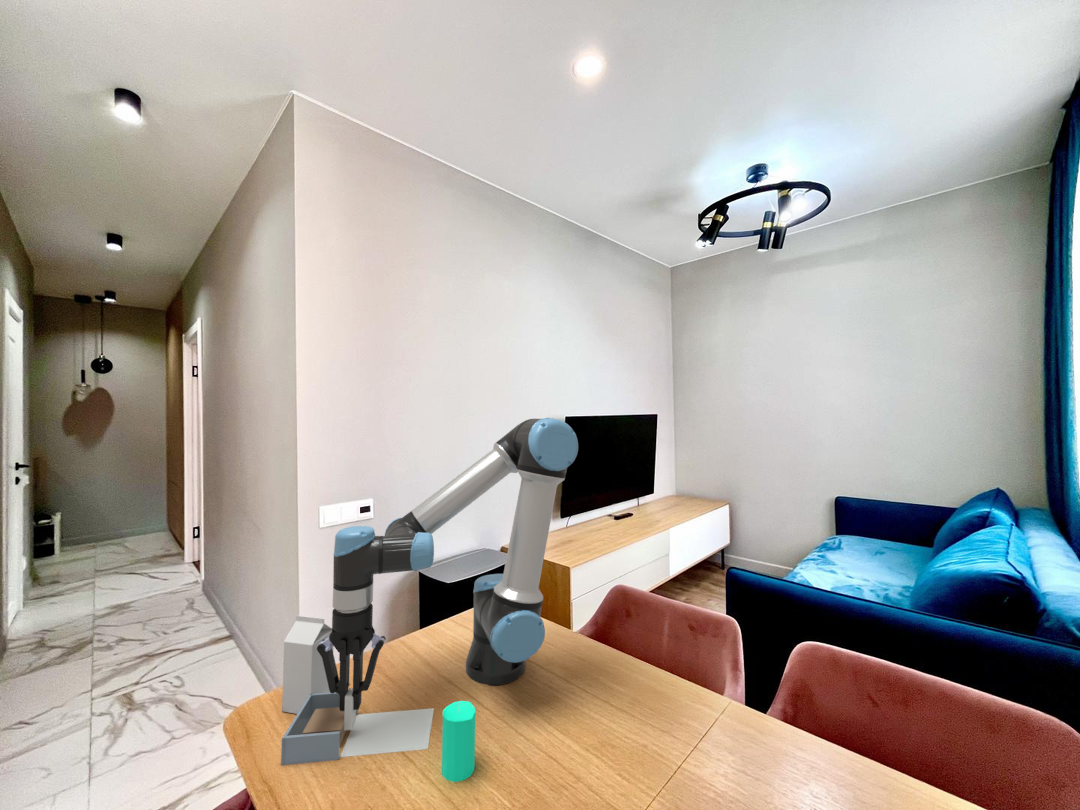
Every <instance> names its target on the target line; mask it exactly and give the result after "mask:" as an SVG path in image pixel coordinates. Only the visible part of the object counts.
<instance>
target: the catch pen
mask: <svg viewBox="0 0 1080 810" xmlns="http://www.w3.org/2000/svg"><path fill="white" fill-rule="evenodd" d="M339 706H340V695H339V694H338V693H330V692H328V693H314V694H309V696H308V697H307V699H306V700H305V702H304V704H303V705H302V707H301V708H300V710H299V712H298V713H297V714H296V715H295V717H294V718H293V720H291V723H290V725H289V726H288V727H287V729H286V731H285V732H284V733H283V736H282V737H281V749H280V750H281V751H280V753H281V755H280V766H286V765H287V766H288V765H297V764H308V763H309V764H310V763H319V762H331V761H339V760H340V731H337V732H325V733H313V734H302V732H303V731H304V729H305V727H306V725H307V724H308V722H309V720H310V718H311V716H312V715H313V713H314V711H315V709H323V708H336V707H339ZM358 713H359V709H358V710H356V716H357V715H358Z"/></svg>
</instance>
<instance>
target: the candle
mask: <svg viewBox="0 0 1080 810" xmlns="http://www.w3.org/2000/svg"><path fill="white" fill-rule="evenodd" d="M441 731H442V733H441V734H442V736H441V741H442V742H441V745H442V746H441V750H442V751H441V775H442V777H444V779H445V780H446V781H450V782H453V783H457V782H462V781H465V780H466V779H468V778H469V777H471V776H472V775H473V773H474V771H475V767H476V766H475V762H476V760H475V759H476V753H475V752H476V707H475V706H474V705H473V704H472V702H471V701H467V700H459V701H454V702H452V703H450V704H449V705H447V706H446V707H445V708H444V709H443V710H442V730H441Z"/></svg>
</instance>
